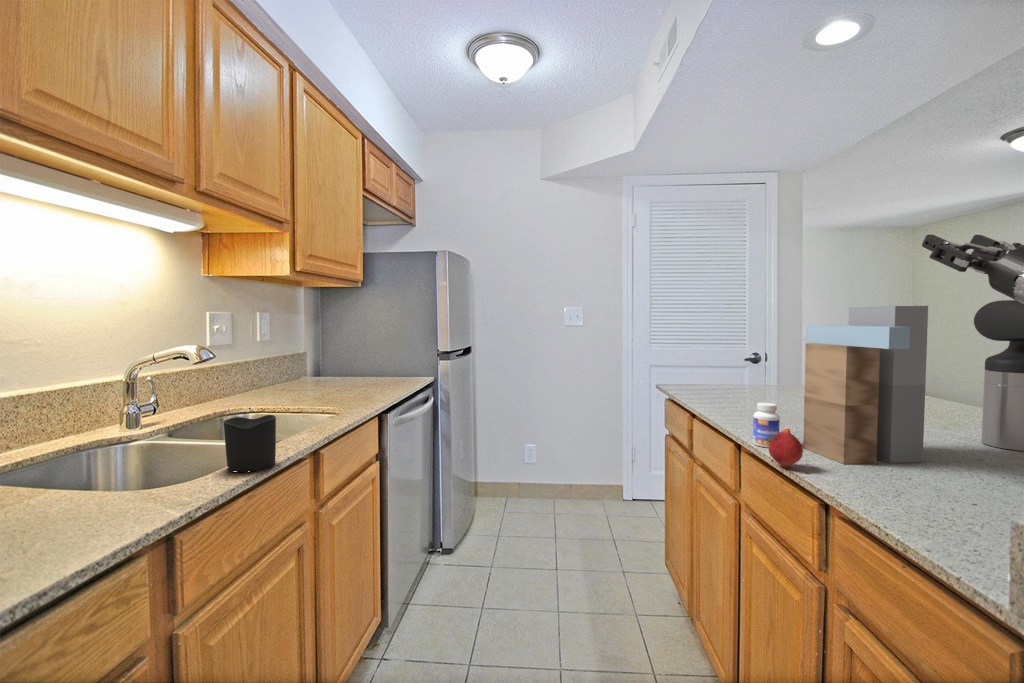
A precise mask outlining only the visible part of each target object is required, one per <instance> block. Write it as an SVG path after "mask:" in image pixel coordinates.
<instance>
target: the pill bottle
mask: <svg viewBox="0 0 1024 683" xmlns="http://www.w3.org/2000/svg"><path fill="white" fill-rule="evenodd" d="M777 408H778V407H777V404H776V403H771V402H757V404H756V409H757V411H755V412H754V413H753V421H752V425H753V427H752V428H753V429H752V444H753V445H754V446H757V447H761V448H766V449H767V448H768V449H769V443H770V441H771V440H772V438H773V437H774V436H775V435H776V434H778V433H780V421H781V420H780V419H781V417H780V415H779V414H778V413H776V411H777Z"/></svg>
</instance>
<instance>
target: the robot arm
mask: <svg viewBox="0 0 1024 683" xmlns="http://www.w3.org/2000/svg"><path fill="white" fill-rule="evenodd" d="M969 241H970V242H965V243H963V244H960V243H956V242H953V241H951V240H950V241H949V240H946V239H945V238H942V237H939V236H937V235H936V234H927V235H925V237H924V239H923V240H922V244H921V247H922V248H925V249H926V250H929V251H930V252H931V253H930V255H929V259H931V260H934V261H936V262H938V263H940V264H942V265H945V266H946V267H948V268H951V269H954V270H955V271H958V272H959V273H965V272H967V269H970V270H973V271H974V272H975V273H979V274H984V275H987V276H988V284H989V286H990V287H991V288H992V289H993V290H994V291H996V292H998V293H1001V294H1002V295H1004V296H1005V297H1006V296H1007V297H1009V298H1010V299H1011V300H1008V299H1005V300H1002V299H1001V300H995V301H994V300H993V301H991V302H988V303H986V304H984V305H983V306H981V307H980V308H979V309H978V310H977V311H976V313H975V315H974V316H973V325H974V328H975V330H976V331H977V332H978V333H979V334H980V335H981V336H982V337H984V338H986V339H989V340H991V341H997V342H1009V343H1008V346H1007V347H1006V348H1005V349H1004V350H1002V351H1000V352H999V353H996V354H994V355H991V356H988V357H986V359H985V361H984V372H983V373H984V377H983V379H984V380H983V382H984V383H983V399H982V400H983V401H982V419H981V420H982V421H981V422H982V425H981V443H983V444H984V445H987V446H991V447H994V448H1000V449H1007V450H1011V451H1021V452H1024V244H1023V243H1020V242H1013V243H1009V242H1007V241H998V240H996V239H992V238H990V237H987V236H985V235H983V234H974V235H973V236H972V238H971V240H969ZM968 250H972V252H971V253H970V252H968Z"/></svg>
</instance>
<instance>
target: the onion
mask: <svg viewBox="0 0 1024 683" xmlns="http://www.w3.org/2000/svg"><path fill="white" fill-rule="evenodd" d="M803 452H804V448H803V445H802V443H801V441H800V440H799V439H798V438H797V436H795V435H793V434H792V433H791V429H790V427H786V428H784V429H783V430H782V431H781V432H780V431H779V433H778V434H776V435H775V436H774V437H773V438H772V440H771V441H770V443H769V448H768V454H769V455H770V457H771V458H772V459H773V461H775V462H776V463H777V464H778V465H780V466H781V467H783V468H785V469H788V468H790V467H791V466H792V465H794V464H796V463H798V462H799V461H800V460H801V458H802V457H803Z"/></svg>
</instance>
